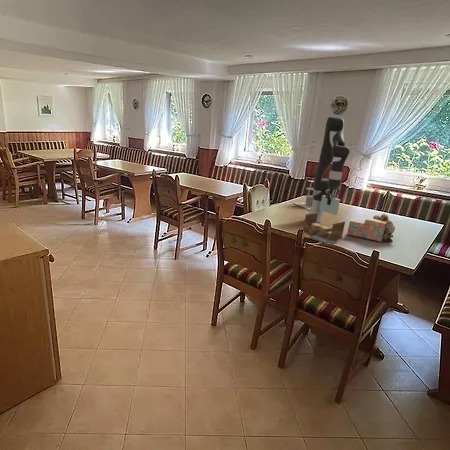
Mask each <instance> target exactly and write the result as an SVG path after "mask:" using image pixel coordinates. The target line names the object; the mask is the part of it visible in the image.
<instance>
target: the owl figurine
mask: <svg viewBox="0 0 450 450" xmlns="http://www.w3.org/2000/svg"><path fill="white" fill-rule="evenodd" d="M372 219H377V220H381V221H385V222H386V225H385V230H384V233H383V237H382V241H381V242H380V243H387V244H388V243H389V244H391V243H393V242H394V241H393V239H392V238H394V235H393V234H394V233H395V229H396V226H394V223H393V221H392V220H390V219H389V216H388V214H386V213H383V214H381V215H380V216H379V215H374V216H373V217H372Z"/></svg>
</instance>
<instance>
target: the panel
mask: <svg viewBox="0 0 450 450" xmlns="http://www.w3.org/2000/svg"><path fill="white" fill-rule="evenodd" d="M327 200H328V199H327V198H326V196H325V195H322V200H321V205H320V210H321V211H324V213H328V214H331V215H333V216H336V215H338V213H339V209H340V203H341V198H340V199H339V198H338V197H336V198H333V197H332V198H331V203H330V205H327Z"/></svg>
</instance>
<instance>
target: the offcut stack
mask: <svg viewBox="0 0 450 450" xmlns="http://www.w3.org/2000/svg"><path fill="white" fill-rule="evenodd" d="M318 223H319V222H316V223H312V224H311V226H312V227H314V228H317V229H320V230H323V231H326V232H328V233H331V231H330V230H331V228H332V227H330V226H328V227H326V226H327V225H325V226H323V225H324V224H322V223H319V224H318ZM321 224H322V225H321ZM329 227H330V228H329Z"/></svg>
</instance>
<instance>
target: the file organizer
mask: <svg viewBox="0 0 450 450" xmlns="http://www.w3.org/2000/svg"><path fill="white" fill-rule="evenodd" d="M307 181H308V182H311V183H314V180H307ZM305 189H306V190H308V191H312V195H311V194H308V195H307V194H306V195H304V197H305V198H306V199H305V202H304V201H303V202H302V201H301V202H297V201H296V202H294V204H295V205H297V206H299V207H301V208H303V209H306V210H309V211H310V209H311V208H312V202H313V197H314V195H316V194H319V193H320V192H321V191H316V190H314V188H313V187H306V188H305Z"/></svg>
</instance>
